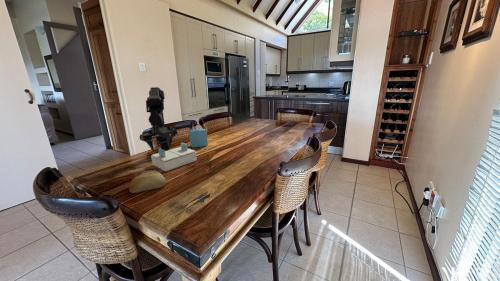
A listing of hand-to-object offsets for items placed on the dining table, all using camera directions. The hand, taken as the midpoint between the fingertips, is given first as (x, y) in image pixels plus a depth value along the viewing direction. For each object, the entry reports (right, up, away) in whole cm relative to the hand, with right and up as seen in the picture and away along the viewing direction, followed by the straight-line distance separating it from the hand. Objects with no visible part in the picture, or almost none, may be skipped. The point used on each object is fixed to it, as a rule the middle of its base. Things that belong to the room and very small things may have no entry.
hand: (161, 149), depth 115 cm
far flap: (+8, -2, +10) cm, 13 cm away
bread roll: (+3, -17, -21) cm, 28 cm away
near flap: (+1, -4, +3) cm, 5 cm away
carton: (+5, -8, +8) cm, 12 cm away
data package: (+12, +1, +38) cm, 39 cm away
